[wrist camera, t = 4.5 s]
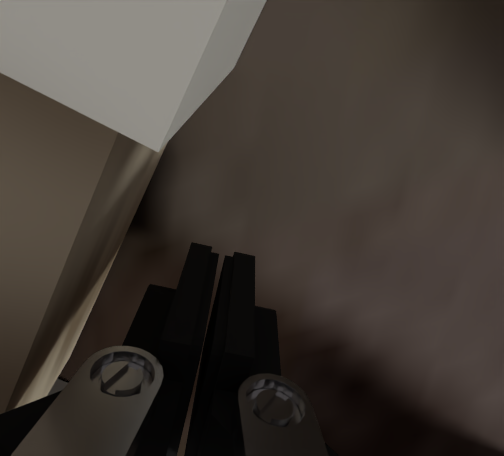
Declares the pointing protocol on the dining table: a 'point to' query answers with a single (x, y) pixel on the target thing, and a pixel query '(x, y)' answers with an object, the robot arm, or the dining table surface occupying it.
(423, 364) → the dining table surface
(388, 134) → the dining table surface
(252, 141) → the dining table surface
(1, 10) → the wall frame
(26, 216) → the gate
